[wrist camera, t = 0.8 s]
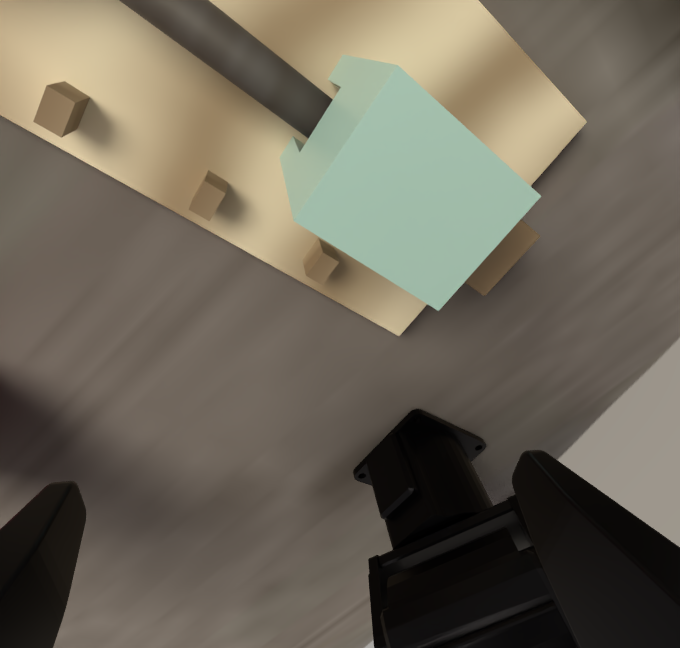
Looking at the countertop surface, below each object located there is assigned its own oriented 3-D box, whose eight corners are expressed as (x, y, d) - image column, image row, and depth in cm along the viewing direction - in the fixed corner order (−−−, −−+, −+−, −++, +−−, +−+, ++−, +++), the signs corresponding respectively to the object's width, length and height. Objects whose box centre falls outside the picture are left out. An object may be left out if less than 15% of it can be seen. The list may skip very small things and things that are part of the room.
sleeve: (445, 143, 17) (541, 196, 11) (381, 227, 18) (438, 310, 13) (342, 54, 15) (398, 64, 9) (279, 157, 16) (293, 220, 11)
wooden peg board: (572, 118, 19) (654, 138, 15) (393, 325, 23) (421, 382, 19) (-39, -551, 9) (-248, -977, 5) (-146, 20, 13) (-304, 14, 10)
